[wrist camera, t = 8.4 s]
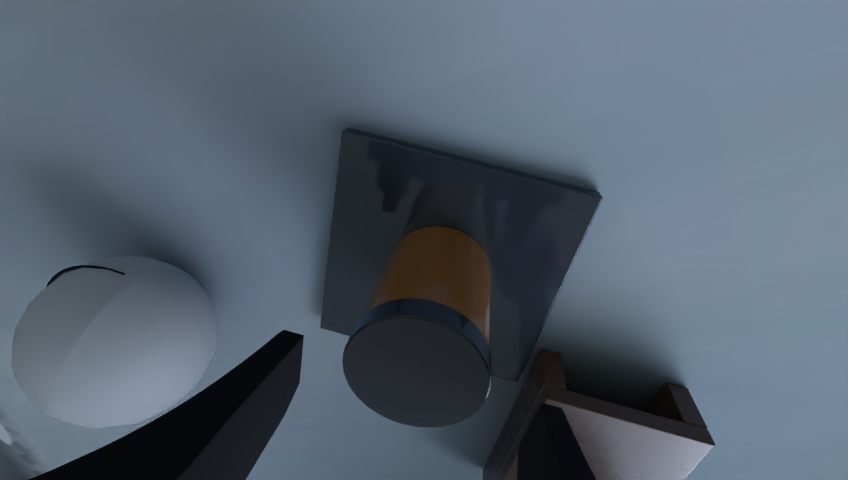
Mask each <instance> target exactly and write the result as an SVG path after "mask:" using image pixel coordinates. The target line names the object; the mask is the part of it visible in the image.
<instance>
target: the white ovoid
mask: <svg viewBox="0 0 848 480" xmlns="http://www.w3.org/2000/svg"><path fill="white" fill-rule="evenodd" d="M217 334H218V319H217V316H216V313H215V309H214V306H213V304H212V302H211V300H210V297H209V296H208V294H207V293H206V291H205V290H204V288H203V287H202V285H201V284H200V283H199V282H198V281H197V280H196V279H194V278H193V277H192V276H191V275H190V274H188V273H186V272H185V271H183V270H182V269H180V268H178V267H176V266H173V265H170V264H168V263H165V262H162V261H159V260H156V259H153V258H151V257H139V256H124V257H108V258H104V259H101V260H97V261H94V262H90V263H88V264H85V265H80V266H73V267H69V268H66V269H64V270H62V271H60V272H58V273H57V274H56V275H54V276H53V277H52V278H51V280H50V281H49V282H48V284H47V287H46V288H45V289H44V290H43V291H41V292H40V293H39V294H38V295H37V296H36V297H35V298H34V299H33V300H32V301H31V302H30V303H29V305H28V306H27V308H26V310H25V312H24V314H23V315H22V317H21V319H20V321H19V323H18V324H17V326H16V328H15V333H14V338H13V349H12V368H13V372H14V375H15V378H16V380H17V381H18V383H19V384H20V386H21V387H22V389H23V391H24V392H25V394H26V395H27V397H28V398H29V400H30V401H31V402H32V403H33V404H34V405H35V406H36V407H37V408H38V409H40V410H41V411H42V412H44V413H45V414H47V415H49V416H51V417H53V418H55V419H58V420H61V421H64V422H68V423H71V424H74V425H78V426H81V427H88V428H95V429H96V428H105V427H113V426H120V425H128V424H136V423H139V422H141V421H143V420H145V419H148V418H150V417H152V416H154V415H156V414H159V413H161V412H163V411H165V410H166V409H168V408H170V407H172V406H173V405H175V404H177V403H178V402H179V401H180V400H181V399H182V398H183V397H184V396H186V395H187V394H188V393H189V392H190V391H191V390H192V389H194V388H195V387H196V385H197V384H198V382H199V380H200V379H201V377H202V375H203V374H204V372H205V370H206V368H207V367H208V365H209V363H210V362H211V360H212V358H213V356H214V355H215V349H216V342H217Z"/></svg>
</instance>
